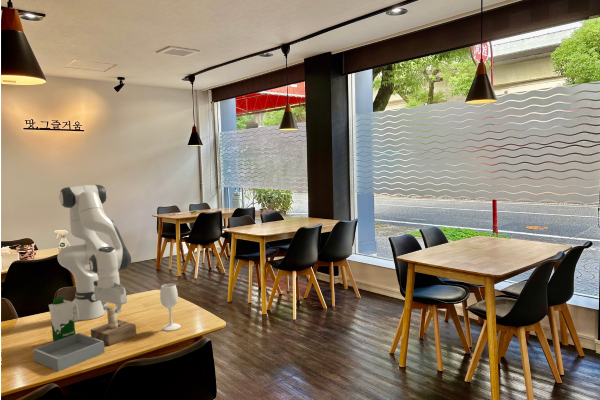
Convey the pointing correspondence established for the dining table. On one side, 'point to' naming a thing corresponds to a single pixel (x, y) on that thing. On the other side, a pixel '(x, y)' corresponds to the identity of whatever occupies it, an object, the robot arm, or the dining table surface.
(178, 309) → the dining table surface
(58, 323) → the milk carton
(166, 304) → the wineglass
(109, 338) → the socket block
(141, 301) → the dining table surface
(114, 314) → the dowel
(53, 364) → the tray
